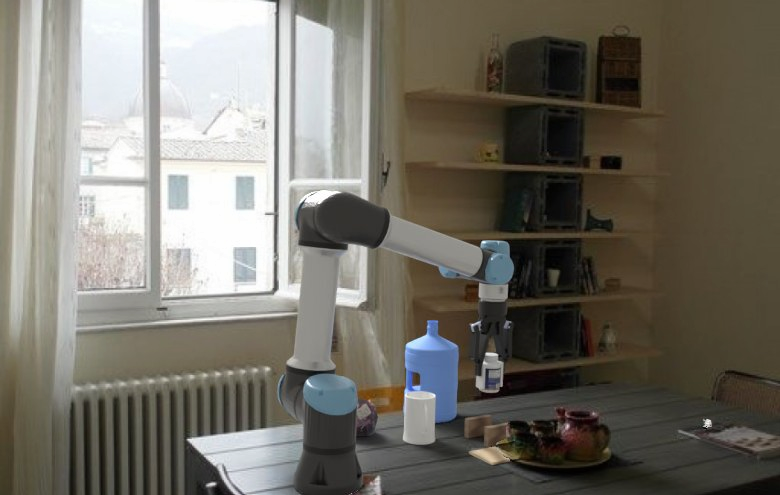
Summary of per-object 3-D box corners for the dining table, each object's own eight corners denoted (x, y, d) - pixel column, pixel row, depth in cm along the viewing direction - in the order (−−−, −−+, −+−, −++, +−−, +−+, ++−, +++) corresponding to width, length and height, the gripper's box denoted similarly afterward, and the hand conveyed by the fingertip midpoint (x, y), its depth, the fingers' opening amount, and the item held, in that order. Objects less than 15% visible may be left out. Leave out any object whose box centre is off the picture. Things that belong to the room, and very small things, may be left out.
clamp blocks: (487, 447, 196) (488, 428, 196) (464, 436, 205) (464, 418, 204) (514, 442, 201) (515, 423, 201) (490, 431, 210) (491, 413, 209)
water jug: (457, 410, 230) (461, 318, 228) (455, 425, 214) (458, 327, 212) (406, 406, 232) (409, 315, 230) (399, 421, 216) (402, 324, 214)
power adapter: (713, 431, 217) (714, 420, 217) (706, 432, 216) (707, 421, 216) (705, 428, 220) (706, 417, 220) (698, 429, 219) (699, 418, 219)
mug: (440, 449, 194) (442, 402, 193) (407, 449, 193) (408, 402, 192) (431, 434, 206) (433, 390, 205) (400, 434, 205) (401, 390, 204)
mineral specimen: (334, 432, 199) (338, 394, 202) (344, 437, 208) (348, 400, 212) (370, 435, 197) (374, 396, 200) (379, 439, 206) (382, 402, 209)
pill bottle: (475, 388, 203) (477, 352, 203) (493, 387, 205) (495, 351, 204) (483, 393, 198) (485, 356, 198) (502, 392, 200) (504, 355, 199)
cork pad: (492, 465, 183) (492, 462, 183) (468, 453, 191) (468, 451, 191) (520, 459, 188) (520, 456, 188) (496, 448, 196) (496, 446, 196)
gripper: (474, 303, 192) (470, 393, 193) (529, 299, 202) (524, 386, 203) (456, 299, 198) (452, 387, 200) (510, 296, 208) (506, 380, 210)
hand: (489, 386), depth 202 cm, fingers closed on pill bottle, 5 cm apart
